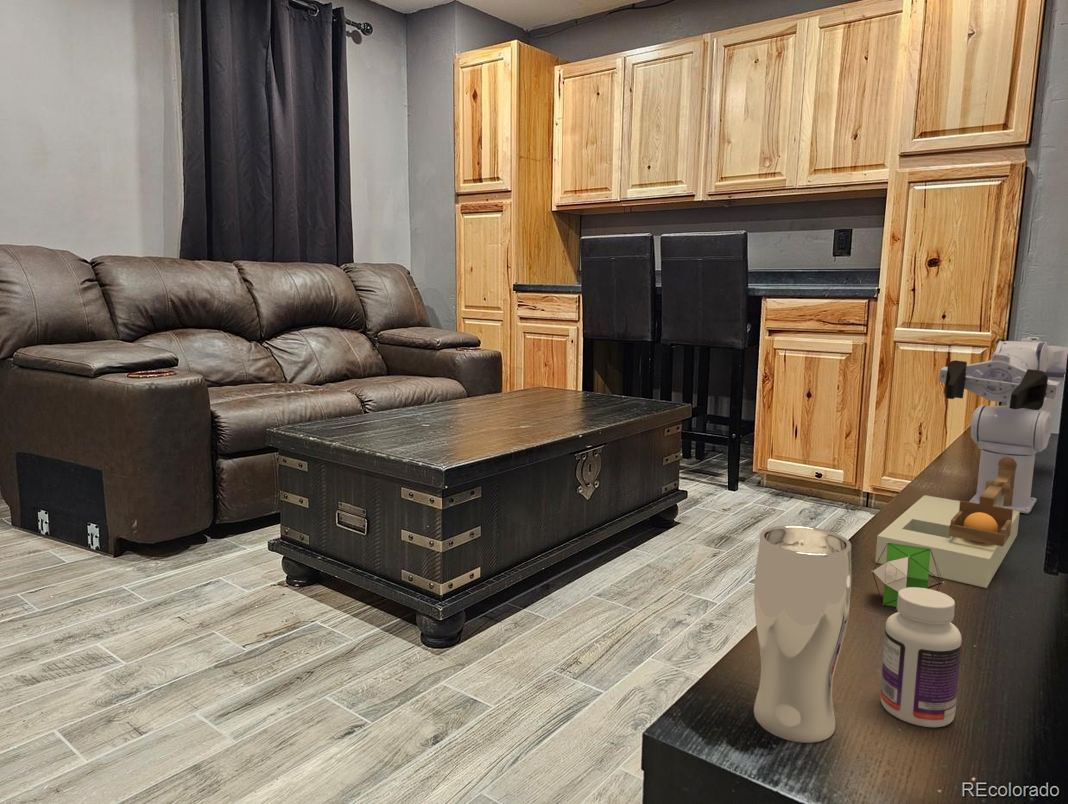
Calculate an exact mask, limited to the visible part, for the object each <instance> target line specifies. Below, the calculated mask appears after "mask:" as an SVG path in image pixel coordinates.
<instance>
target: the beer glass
mask: <svg viewBox="0 0 1068 804" xmlns="http://www.w3.org/2000/svg"><path fill="white" fill-rule="evenodd" d="M758 543H759V544H758V550H757V551H758V552H757V556H756V557H757V558H756V566H755V574H754V575H755V576H754V585H753V587H754V589H753V590H754V597H753V598H754V599H753V601H754V602H753V603H754V615H755V617H754V618H755V625H756V633H757V640H758V641H757V642H758V646H759V655H760V680H759V686H758V690H757V693H756V697H755V701H754V706H753V715H754V718H755V720H756V722H757V723H758V724H759V725H760V727H762V728H763V729H764V730H765V731H766V732H768V733H770V734H772V735H773V736H775V737H778V738H780V739H783V740H787V741H789V742H794V743H799V744H801V743H803V744H814V743H819V742H823V741H825V740H827V739H829V738H831V737H832V735H833V734H834V732H835V729H836V719H835V718H836V717H835V709H834V703H833V702H834V701H833V684H834V676H835V671H836V668H837V663H838V660H839V657H840V653H841V650H842V646H843V644H844V643H843V642H844V639H845V636H846V630H847V627H848V622H849V618H850V610H851V600H852V543H851V541H849V540H848V539H847V538H846V537H845V536H842V535H841V534H838V533H836V532H833V531H829V530H826V529H822V528H817V527H813V526H806V525H779V526H777V525H776V526H772V527H767V528H765V529H763V530H762V531H761V532H760V534H759V542H758Z"/></svg>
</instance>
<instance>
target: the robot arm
mask: <svg viewBox="0 0 1068 804" xmlns="http://www.w3.org/2000/svg"><path fill="white" fill-rule="evenodd" d="M1067 354H1068V347H1067V346H1059V345H1048V342H1047V341H1041V339H1040V337H1038V336H1037V337H1036V336H1027V337H1026V338H1021V339H1020V341H1019V340H1016V341H1014V340H1005V341H1004V340H1003V341H1002V340H999V341H998V343H997V346H996V349H995V350H994V352H993V353H992V356H991V359H990V360H988V361H982V362H976V363H971V364H968V362H967V361H962V360H952V361H950V362H948V364H947V366H943V367H941V369H939V375H938V382H939V383H944V384H945V385H944V395H945V398H946V399H949V400H953V399H955V398H956V399H963V398H964V393H965V390H966V391H968V392H970V393H972V394H975V395H977V396H979V397H980V398H983V399H985V400H988V401H991V402H995V403H997V402H998V403H1000V402H1001V403H1002V402H1008V404H1005V405H987V406H986V405H985V404H981V405H979V406H978V407H977V408H975V409H974V411H973V414H972V417H971V422H970V437H971V439H972V441H973V443H975V444H977V448H978V449H979V450H980V454H979V455H980V456H979V466H978V467H979V468H978V476H977V486H976V494H974V496H972V498H971V499H969V501H968V502H973V503H979V502H980V496H981V495H982V494H983V493H984V491H985V485H986V482H987V481H994V480H995V479H996V478H997V477H998V468H999V467H998V462H999V460H1000V459H1002V458H1004V457H1010V458H1013V459H1014V460H1015V461H1016V463H1017V467H1016V471H1015V480H1014V489H1013V499H1012V506H1003V508H1009V509H1013V510H1016V511H1020V513H1022V514H1030V512H1032V509H1033V507H1034V505H1035V504H1036V503H1037V500H1038V499H1037V498H1036V497H1031V495H1032V486H1033V476H1034V467H1035V459H1036V454H1037V453H1038V452H1039V453H1041V452H1043V451H1044V450H1045V449H1047V447H1048V444H1049V440H1050V438H1051V434H1052V427H1053V416H1052V412H1053V411H1054V409H1055V408H1056V406H1057V405H1058V404H1059V403H1060V401H1061V400H1062V399H1061V397H1062V388H1063V381H1064V374H1065V366H1066V357H1067ZM1062 398H1063V397H1062ZM1009 401H1010V402H1009Z"/></svg>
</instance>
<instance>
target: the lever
mask: <svg viewBox="0 0 1068 804" xmlns="http://www.w3.org/2000/svg"><path fill="white" fill-rule="evenodd" d="M998 467H999V468H998V477H997V478H996V479H995V480H994V481H987V482H986V485H985V491H984V493H983V494H982V495H981V496H980V502H979V503H973V502H969V501H965V500H959V501H960V506H959V512H958V513H957V514H956V515H955V516H954V517H953V518H952V519H951V524H950V528H949V536H952V537H957V538H962V539H967V540H972V541H977V542H982V543H987V544H993V545H998V546H1004V544H1005V542H1006V541H1007V539H1008V538H1009V536H1010V533H1011V524H1012V515H1013V509H1009V508H1003V507H997V506H993V505H994V504H995V503H996V501H997V500H998V499H999V497H1000V496H1001V495H1002V494H1004V502H1003V506H1012V499H1013V489H1014V480H1015V471H1016V467H1017V463H1016V461H1015V460H1014V459H1013V458H1010V457H1004V458H1002V459H1000V460H999V462H998ZM977 512H981V513H986V514H988V515H990V516H991V517H993V518H994V519H995V521H996V523H997V525H998V532H997V533H996V532H990V531H985V530H980V529H974V528H969V527H964V526H963V524H964V521H965V519H966V518H967V517H968V516H969V515H970V514H973V513H977Z"/></svg>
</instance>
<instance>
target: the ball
mask: <svg viewBox="0 0 1068 804" xmlns="http://www.w3.org/2000/svg"><path fill="white" fill-rule="evenodd" d="M963 526H964V527H969V528H974V529H980V530H985V531H990V532H996V533H997V532H998V525H997V523H996V521H995V519H994V518H993V517H991V516H990V515H988V514H986V513H981V512H977V513H973V514H970V515H969V516H968V517H967V518H966V519H965V521H964V524H963Z"/></svg>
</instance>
